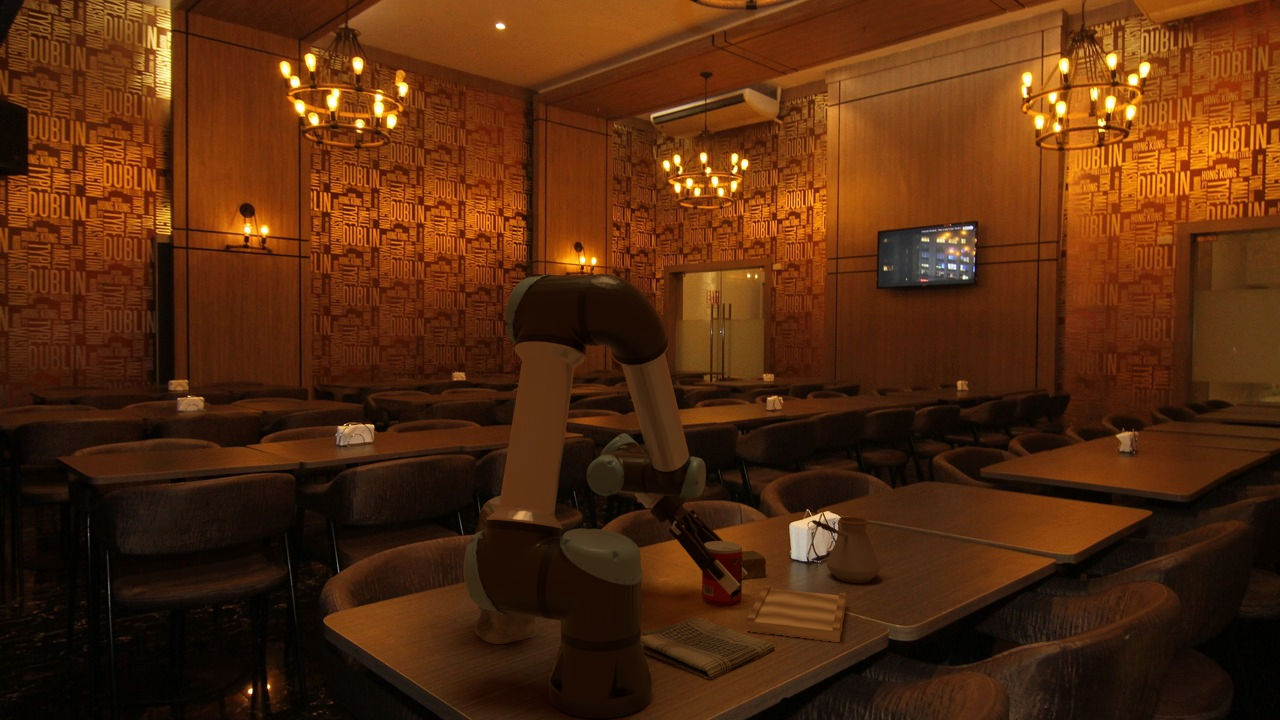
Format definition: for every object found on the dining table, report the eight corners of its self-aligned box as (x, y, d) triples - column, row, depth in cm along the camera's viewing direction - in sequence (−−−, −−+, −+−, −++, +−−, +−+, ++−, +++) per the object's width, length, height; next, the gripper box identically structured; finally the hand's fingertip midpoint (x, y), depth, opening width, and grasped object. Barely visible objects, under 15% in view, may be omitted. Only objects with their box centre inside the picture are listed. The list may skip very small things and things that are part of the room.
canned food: (740, 607, 153) (740, 551, 153) (699, 604, 155) (700, 549, 154) (743, 595, 161) (743, 541, 160) (704, 592, 162) (704, 539, 162)
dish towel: (778, 653, 132) (778, 634, 132) (708, 685, 119) (709, 664, 119) (695, 624, 145) (695, 607, 145) (625, 650, 133) (625, 631, 133)
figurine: (511, 615, 148) (511, 483, 147) (547, 638, 136) (548, 495, 136) (462, 626, 142) (462, 489, 142) (496, 651, 130) (497, 501, 130)
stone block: (710, 575, 175) (710, 553, 175) (756, 571, 179) (756, 549, 179) (722, 582, 170) (722, 559, 169) (768, 578, 173) (769, 555, 173)
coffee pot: (845, 567, 181) (846, 503, 181) (890, 578, 173) (891, 511, 172) (788, 585, 167) (788, 515, 167) (833, 599, 159) (834, 525, 158)
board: (839, 642, 135) (839, 627, 135) (747, 631, 140) (747, 617, 140) (845, 606, 154) (845, 593, 154) (764, 597, 159) (764, 585, 159)
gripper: (662, 500, 172) (735, 580, 167) (633, 520, 152) (714, 611, 148) (686, 477, 170) (760, 558, 165) (660, 495, 150) (742, 586, 146)
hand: (738, 583), depth 157 cm, fingers closed on canned food, 8 cm apart
